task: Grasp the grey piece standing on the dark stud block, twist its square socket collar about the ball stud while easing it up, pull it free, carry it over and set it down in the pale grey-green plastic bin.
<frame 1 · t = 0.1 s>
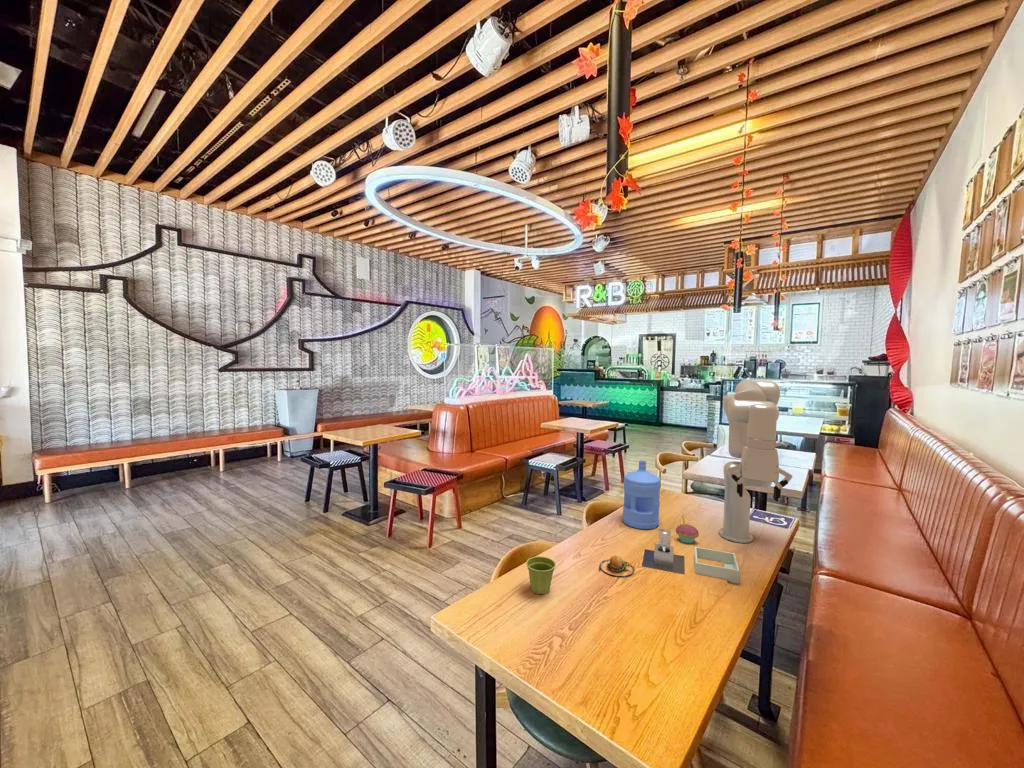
hand: (757, 497, 131), 31 cm above the table, fingers open, 9 cm apart
plant pot: (540, 589, 134), on the table
grey piece: (663, 561, 151), point 1 cm above the table, touching stud block
stud block: (663, 563, 152), on the table
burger: (616, 572, 146), on the table
bin: (715, 570, 147), on the table
water jug: (640, 523, 188), on the table
cupcake: (686, 542, 169), on the table
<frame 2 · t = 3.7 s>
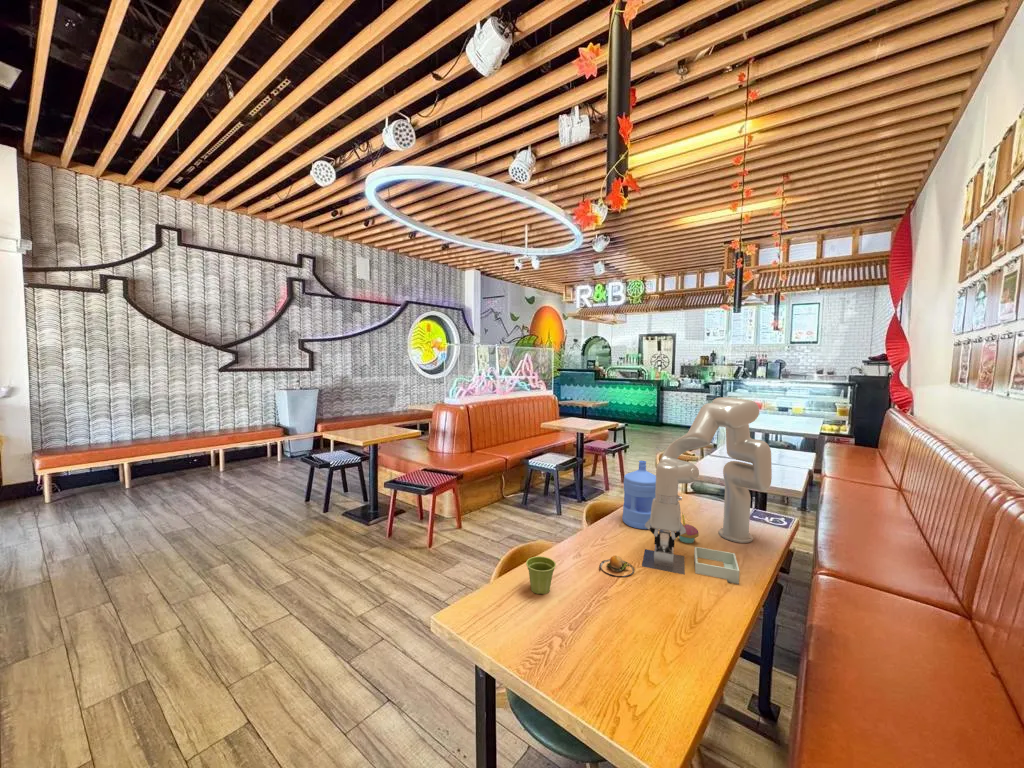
hand: (664, 546, 151), 6 cm above the table, fingers closed on grey piece, 4 cm apart
grey piece: (663, 561, 151), point 1 cm above the table, touching gripper, stud block
everything else where it was.
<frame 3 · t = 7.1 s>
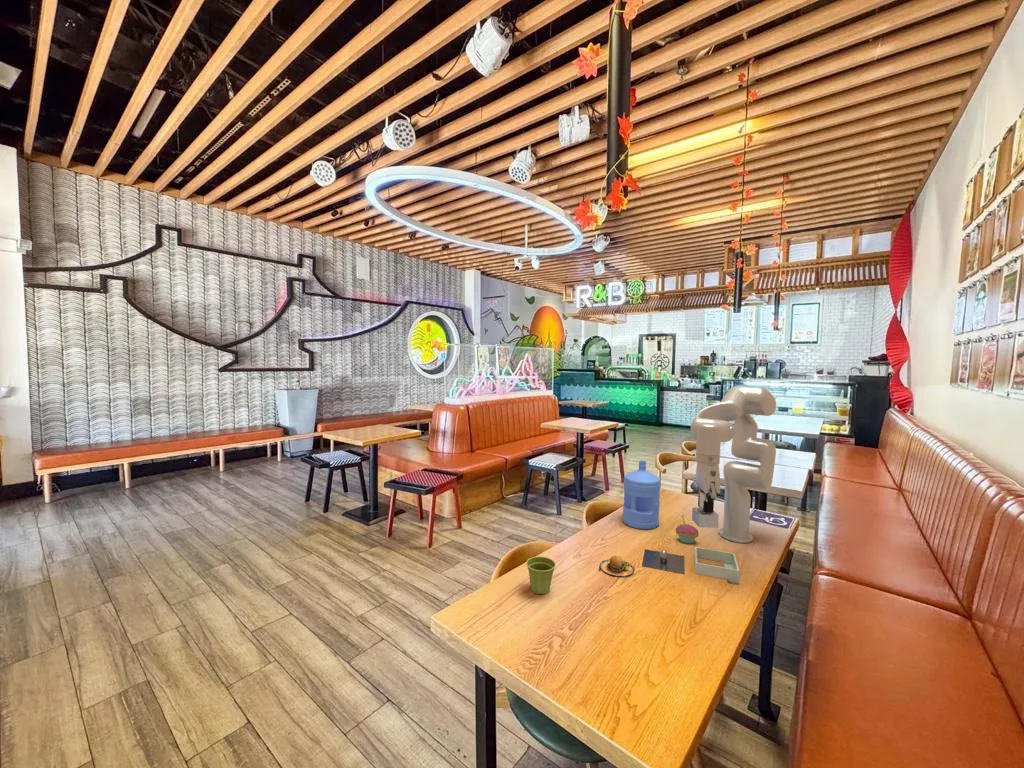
hand: (705, 509, 147), 22 cm above the table, fingers closed on grey piece, 4 cm apart
grey piece: (704, 523, 147), point 16 cm above the table, touching gripper
everything else where it was.
when the fingers open (8 cm above the table, at t = 10.4 s): grey piece drops 2 cm, resting on bin.
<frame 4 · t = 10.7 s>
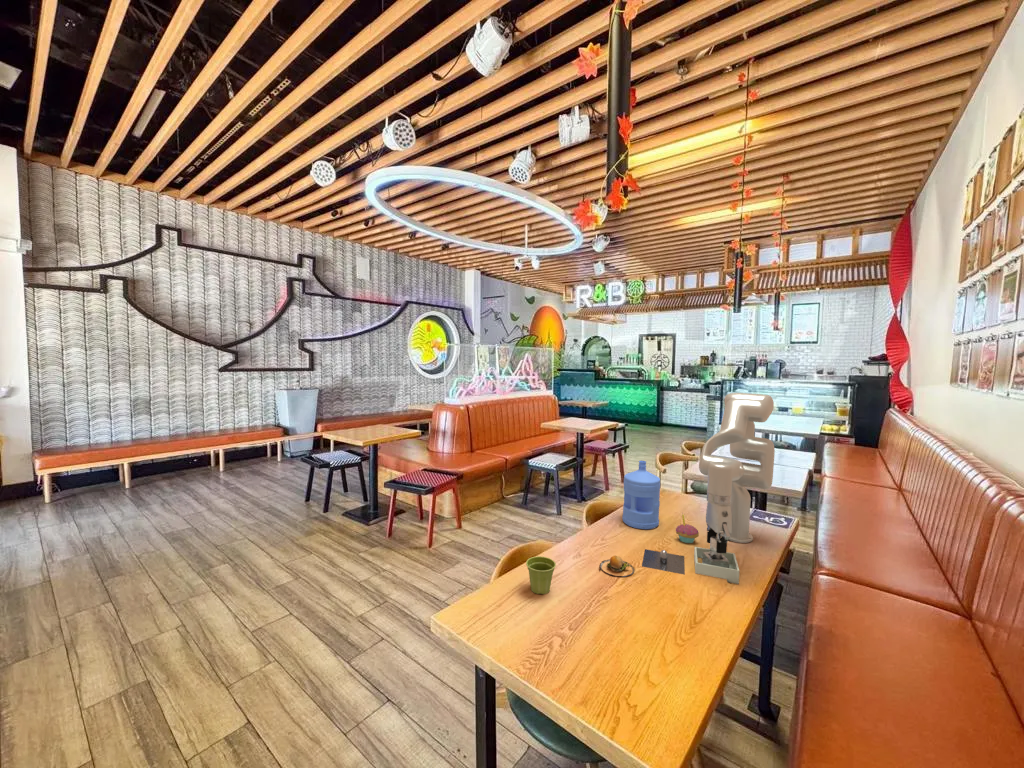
hand: (716, 547, 146), 8 cm above the table, fingers open, 6 cm apart
grey piece: (715, 568, 147), point 1 cm above the table, touching bin
everything else where it was.
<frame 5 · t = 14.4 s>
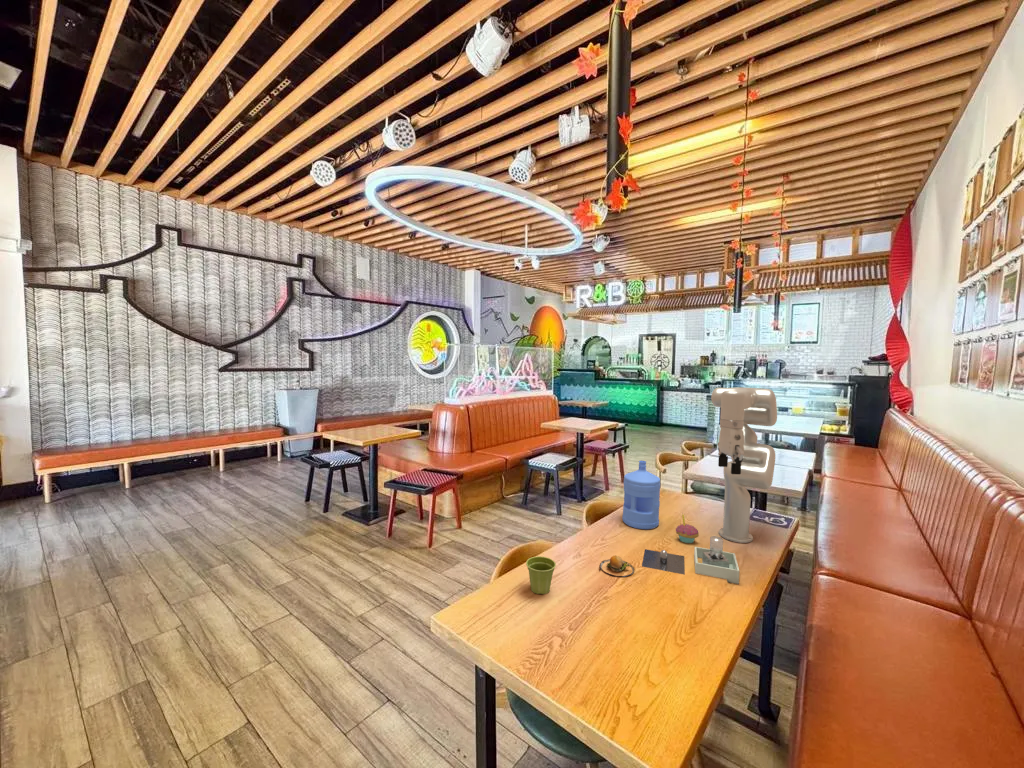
hand: (729, 470, 154), 33 cm above the table, fingers open, 9 cm apart
nothing on the table moved.
at the end: grey piece inside the target area on the bin (0.1 cm from its centre), point 0.6 cm above the bin's base; the gripper is holding nothing; grey piece touching bin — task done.
